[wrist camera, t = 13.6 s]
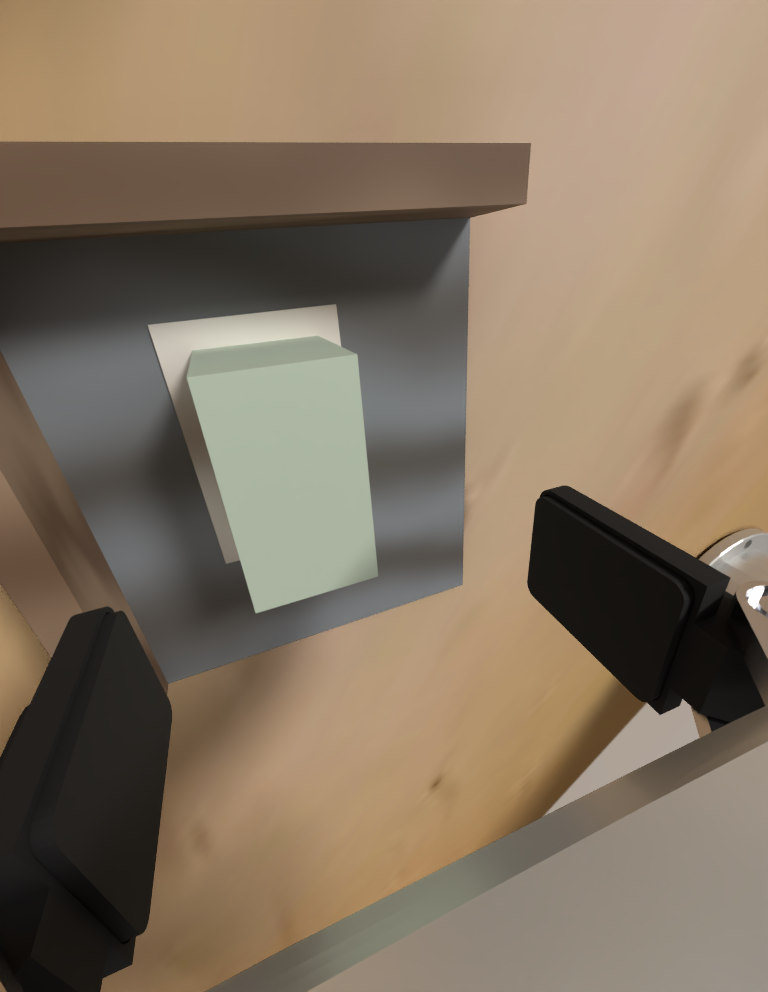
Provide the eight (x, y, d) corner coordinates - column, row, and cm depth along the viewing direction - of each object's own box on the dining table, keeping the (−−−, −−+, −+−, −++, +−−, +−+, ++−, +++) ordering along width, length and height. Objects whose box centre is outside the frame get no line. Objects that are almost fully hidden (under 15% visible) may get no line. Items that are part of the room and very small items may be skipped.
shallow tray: (457, 578, 25) (495, 623, 22) (136, 684, 20) (122, 762, 17) (462, 172, 16) (530, 143, 12) (-144, 184, 11) (-302, 140, 7)
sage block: (317, 335, 16) (357, 354, 12) (341, 514, 20) (378, 576, 15) (192, 350, 14) (186, 377, 10) (244, 538, 18) (255, 613, 14)
